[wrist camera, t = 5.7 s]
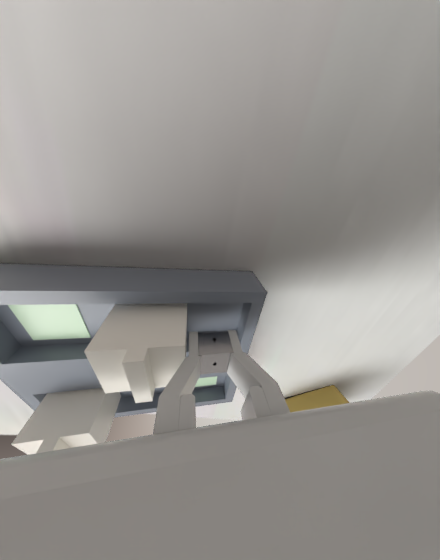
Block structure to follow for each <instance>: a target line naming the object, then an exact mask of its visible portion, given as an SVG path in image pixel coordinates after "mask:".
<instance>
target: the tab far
mask: <svg viewBox="0 0 440 560" xmlns="http://www.w3.org/2000/svg"><path fill="white" fill-rule="evenodd" d="M120 398H121V394H120V392H114V393H105V392H104V390H103V388H96V389H86V390H76V391H66V392H56V393H47V394H46V396H45V397H44V399H43V400H42V401H41V403H40V404H39V406H38V407H37V409H36V410H35V411H34V413H33V414H32V416H31V417H30V419H29V420H28V421H27V423H26V424H25V426H24V427H23V428H22V430H21V431H20V433H19V434H18V436H17V437H16V439H15V440H14V442H13V443H12V445H13V446H15V447H16V448H18V449H20V450H22V451H23V452H25V453H26V454H28V455H30V454H36V453H42V452H49V451H55V450H61V449H67V448H73V447H80V446H86V445H92V444H98V443H104V442H106V440H107V436H108V434H109V431H110V428H111V425H112V422H113V419H114V416H115V413H116V410H117V407H118V404H119V401H120Z"/></svg>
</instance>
